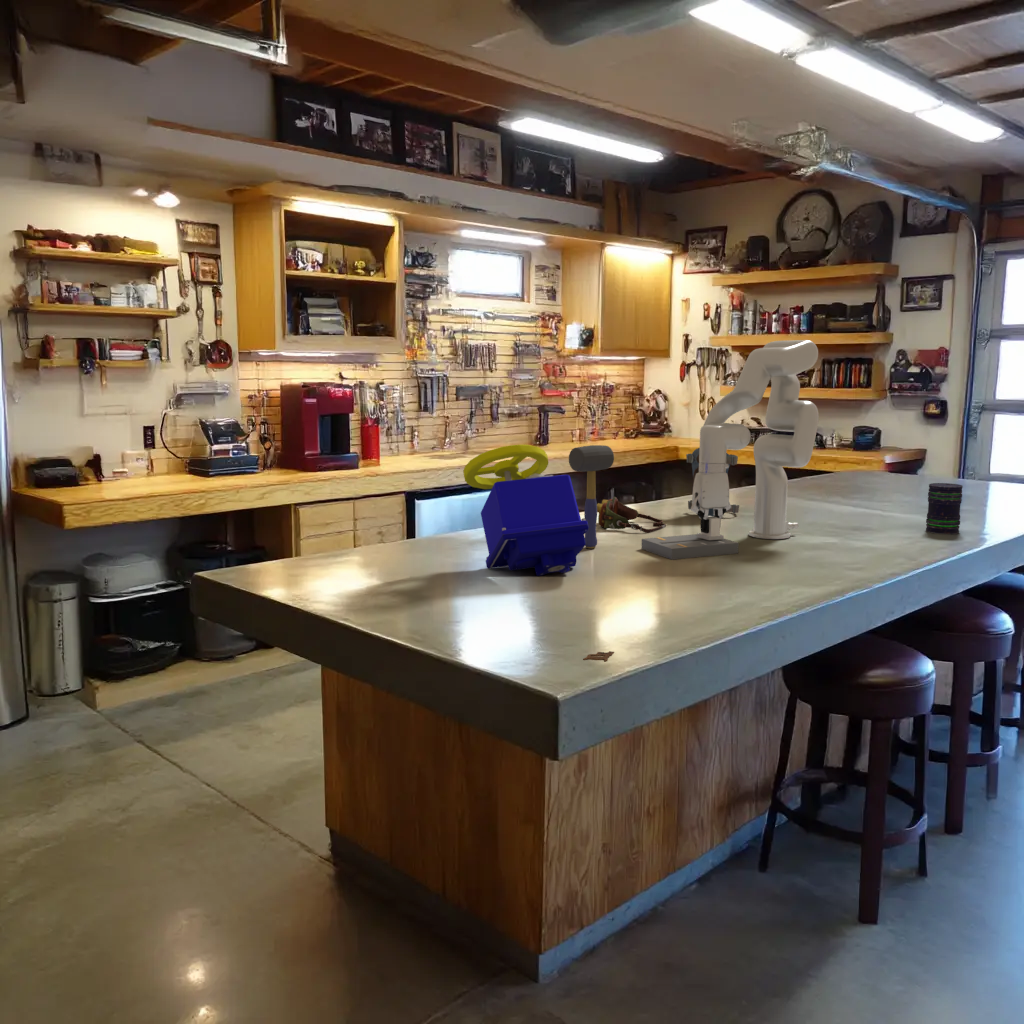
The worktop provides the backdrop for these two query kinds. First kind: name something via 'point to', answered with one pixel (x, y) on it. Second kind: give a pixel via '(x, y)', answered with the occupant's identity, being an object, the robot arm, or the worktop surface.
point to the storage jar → (944, 508)
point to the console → (688, 546)
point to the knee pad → (694, 460)
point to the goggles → (622, 516)
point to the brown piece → (595, 657)
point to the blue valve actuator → (527, 512)
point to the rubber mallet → (591, 481)
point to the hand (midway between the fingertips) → (710, 531)
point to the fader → (712, 530)
